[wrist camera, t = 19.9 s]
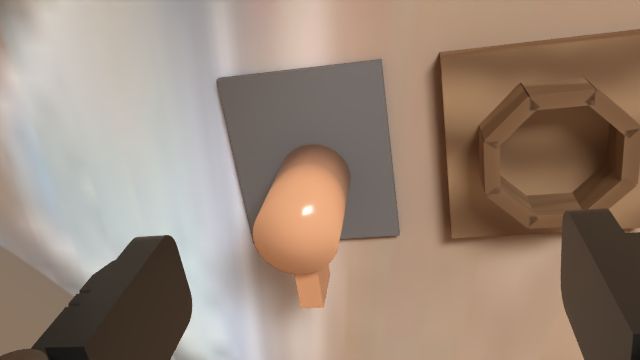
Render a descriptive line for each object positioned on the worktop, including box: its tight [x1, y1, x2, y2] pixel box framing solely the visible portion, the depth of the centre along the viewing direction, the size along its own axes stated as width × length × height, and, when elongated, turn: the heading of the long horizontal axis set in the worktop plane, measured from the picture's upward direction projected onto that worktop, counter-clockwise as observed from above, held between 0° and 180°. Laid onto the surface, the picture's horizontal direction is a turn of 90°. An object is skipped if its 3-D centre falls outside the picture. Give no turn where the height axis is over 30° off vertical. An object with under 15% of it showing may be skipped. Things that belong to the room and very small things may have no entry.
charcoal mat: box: [217, 59, 400, 244], centre depth 44 cm, size 14×12×1 cm
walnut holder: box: [440, 29, 640, 238], centre depth 39 cm, size 14×14×4 cm
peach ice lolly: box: [253, 144, 351, 308], centre depth 41 cm, size 9×6×9 cm, turn 8°
